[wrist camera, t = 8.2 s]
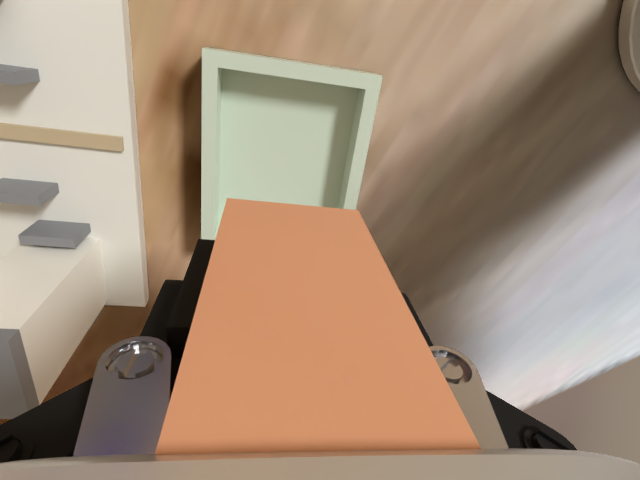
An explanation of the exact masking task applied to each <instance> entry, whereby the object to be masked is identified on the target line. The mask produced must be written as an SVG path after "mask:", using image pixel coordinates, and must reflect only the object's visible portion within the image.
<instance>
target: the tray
mask: <svg viewBox="0 0 640 480" xmlns="http://www.w3.org/2000/svg"><path fill="white" fill-rule="evenodd" d="M382 77H383V76H381V75H378V74H375V73H372V72H366V71H359V70H353V69H347V68H340V67H334V66H327V65H321V64H314V63H308V62H302V61H295V60H289V59H282V58H276V57H270V56H263V55H257V54H250V53H244V52H237V51H231V50H225V49H218V48H212V47H206V48H202V144H201V239H207V240H215V239H216V236H217V232H218V229H219V225H220V221H221V218H222V214H223V211H224V207H225V204H226V200H227V198H232V199H243V200H254V201H265V202H275V203H286V204H297V205H308V206H319V207H330V208H340V209H351V210H356V206H357V201H358V196H359V191H360V186H361V181H362V176H363V171H364V166H365V161H366V156H367V151H368V146H369V141H370V137H371V132H372V127H373V122H374V117H375V112H376V107H377V102H378V97H379V92H380V87H381V82H382Z"/></svg>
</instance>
